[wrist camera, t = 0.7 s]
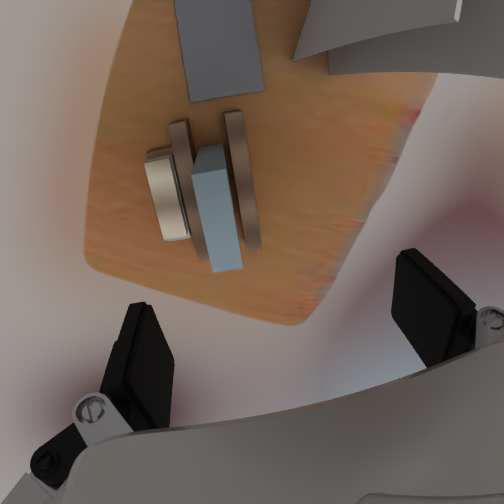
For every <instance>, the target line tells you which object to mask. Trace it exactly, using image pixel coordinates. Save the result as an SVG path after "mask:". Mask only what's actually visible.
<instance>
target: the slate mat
mask: <svg viewBox="0 0 504 504" xmlns="http://www.w3.org/2000/svg"><path fill="white" fill-rule="evenodd" d="M174 2H175V9H176V16H177V22H178V29H179V35H180V42H181V48H182V54H183V61H184V67H185V73H186V79H187V85H188V91H189V96H190V102H191V103H192V102H197V101H202V100H208V99H213V98H219V97H225V96H232V95H238V94H245V93H253V92H261V91H264V85H263V78H262V71H261V64H260V57H259V51H258V44H257V38H256V31H255V25H254V19H253V13H252V7H251V1H250V0H174Z"/></svg>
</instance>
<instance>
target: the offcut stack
mask: <svg viewBox="0 0 504 504" xmlns="http://www.w3.org/2000/svg"><path fill="white" fill-rule="evenodd" d="M147 158H148V160H147V161H146V162H145V163H144V165H145V169H146V174H147V178H148V182H149V186H150V190H151V194H152V197H153V201H154V205H155V209H156V213H157V216H158V220H159V224H160V227H161V231H162V234H163V238H164V240H167V242H170V241H176V240H181V239H187V238H191V234H192V233H191V229H190V225H189V220H188V216H187V212H186V208H185V203H184V199H183V195H182V190H181V186H180V181H179V177H178V172H177V167H176V163H175V158H174V153H173V148H172V146H167V147H163V148H158V149H154V150H150V151H148V152H147Z"/></svg>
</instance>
